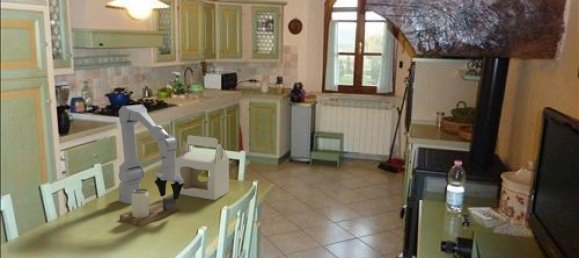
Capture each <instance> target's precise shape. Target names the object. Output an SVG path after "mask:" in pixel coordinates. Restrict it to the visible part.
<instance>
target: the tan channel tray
mask: <svg viewBox="0 0 579 258" xmlns="http://www.w3.org/2000/svg"><path fill="white" fill-rule="evenodd" d="M179 211H180V205H177V199H176V200H174V198H173V194H171V195H168V196H166V197H162V201H161V200H157V201H154V202H151V203H149V216H146V217H143V218H141V219H139V218H136V217H132V210H130V211H126V212H125V213H121V214H119V220H120V221H122V222H126V223H129V224H132V225H135V226H138V227H143V226H145V225H149V224H150V223H152V222H155V221H158V220H160V219H162V218H165V217H167V216H170V215H172V214H174V213H177V212H179Z"/></svg>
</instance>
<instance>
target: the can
mask: <svg viewBox="0 0 579 258" xmlns="http://www.w3.org/2000/svg"><path fill="white" fill-rule="evenodd" d="M149 196H150V195H149V191H148V189H146V188H140V189H136V190H134V191H133V194H132V205H131V209H132V210H131V211H132V217H136V218H139V219H141V218H143V217H146V216H149V204H150V197H149Z"/></svg>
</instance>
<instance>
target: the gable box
mask: <svg viewBox="0 0 579 258" xmlns="http://www.w3.org/2000/svg"><path fill="white" fill-rule="evenodd" d="M219 141H220V140H219V139H218V138H217V137H209V136H203V135H193V134H189V135H187V138H186V140H183V142H182V145H181V147H180V150H179V151H178V153H177V155H176V176H178V177H180V178H183V179H184V185H183V187H182V188H181V191H180V194H179V195H182V194H183V195H184V196H189V197H194V198H200V199H207V200H211V201H216V200H217V199H220V198H221V197H223V196H225V195H227V194H228V193H230V158H229V156H228V154H227V152H226V151H225V150H224V148H223V144H220V143H219ZM192 145H193V146H200V147H201V146H202V147H209V148H215V155H214V154H208V153H200V152H199V153H198V152H193V151H192V149H191V146H192ZM199 170H204V171H207V172H208V173H209V176H208V179H207V180H206V181H201V180H199V178H198V177H199ZM183 195H182V196H183Z"/></svg>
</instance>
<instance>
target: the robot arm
mask: <svg viewBox="0 0 579 258" xmlns="http://www.w3.org/2000/svg"><path fill="white" fill-rule="evenodd" d="M118 117H119V124H120V128H121V140H122V147H123V158H124V161H123V162H122V164H120V165H119V167H118V168H119V169H118V170H119V172H118V179H119V180H120V183H119V184H118V199H117V202H120V203H125V204H128V205H131V206H132V194H133V191H134V190H136V189H141V182H142V181H143V179H144V177H145V169H144V168H143V163H142V162H140V161H138V157H137V156H138V155H137V145H136V136H135V135H136V134H135V125H137V123H138V122H139V123H141V124H142V125H143V126H144V127H145V128H146V129H147V130H148V131H149V135H150V137H151V138H152V139H153V140H154V142H155V143H156V144H157V147H158V150H159V154H160V157H161V173H159V172H158V173H154V179H155V180H154V183H155V185H156V187H157V189H158V192H159V196H160V197H162V198H163V197H164V196H166V195H167V194H166V191H167V190H166V188H167V183H168V182H172V183H171V184H170V187H171V189H172V195H173V198H174V200H176V201H177V200H179V196H180V195H181V194H180V191H181V188H182V187H183V185H184V179H183V178H180V177H178V176H176V157H177V155H176V154H177V153H176V152H177V151H176V150H178V149H179V146H180V145H179V140H178V139H177V137H176V136H174V135H173V136H172V135H170V134H169V133H168V132H167V131H166V130H165V129H164V128H163V126H162V125H158V124H156V123H155V122H154V121H153V119H152V118H151V116H150V115H149V114H148V109H147V108H146V107H145V105H144V104H142V103H141V104H133V105H122V106H121V107H120V108H119V110H118Z"/></svg>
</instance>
